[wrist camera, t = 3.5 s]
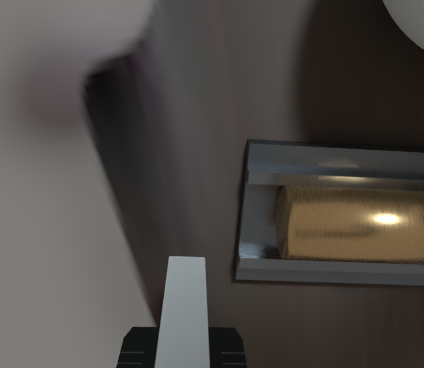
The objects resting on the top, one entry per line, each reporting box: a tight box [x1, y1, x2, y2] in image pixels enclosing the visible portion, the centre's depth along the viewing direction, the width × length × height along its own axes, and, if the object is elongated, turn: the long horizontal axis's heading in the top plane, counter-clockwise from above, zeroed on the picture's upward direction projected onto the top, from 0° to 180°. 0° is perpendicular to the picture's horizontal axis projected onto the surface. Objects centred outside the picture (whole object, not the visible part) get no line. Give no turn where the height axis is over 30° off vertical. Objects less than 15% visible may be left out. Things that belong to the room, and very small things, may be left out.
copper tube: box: [276, 185, 424, 264], centre depth 20 cm, size 12×4×4 cm, turn 86°
